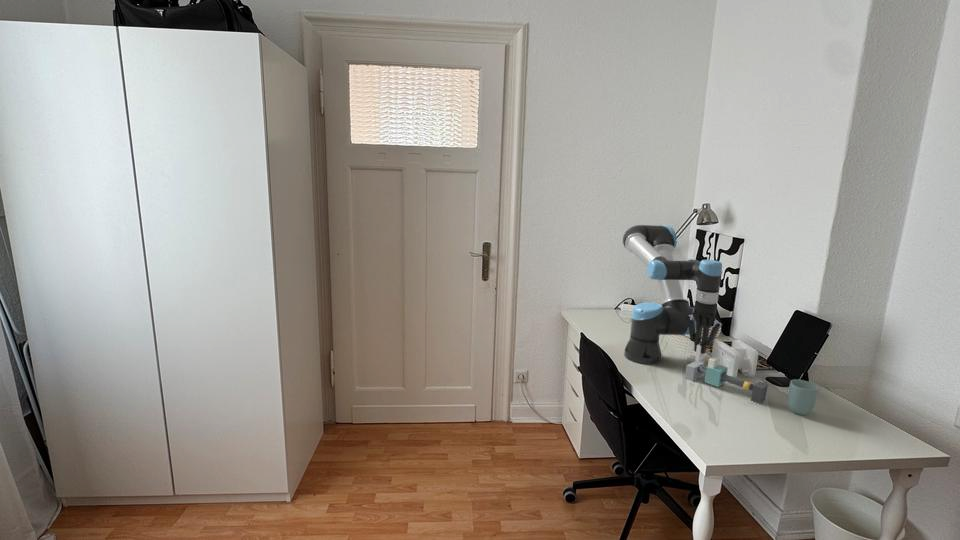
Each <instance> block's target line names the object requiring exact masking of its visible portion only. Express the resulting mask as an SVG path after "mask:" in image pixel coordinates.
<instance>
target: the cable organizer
mask: <svg viewBox="0 0 960 540" xmlns="http://www.w3.org/2000/svg"><path fill="white" fill-rule="evenodd" d="M714 356H715V357H718V358H720V359H719V365H721V366H724V367H727V368H728V369H727V375H728V376H731V377H734V378H737V377H738V371H740V372H741V374H743V375H745V376H746V375H747V376H746V377H748V376H749V377H754V376H756V371H757V367H758V366H757V365H758V361H759V352H758V350H757V349H755V348H753V347H752V346H750V345H749V344H746V343H745V342H743V341H741V340H739V339H733V340H732V342H731V346H730V345H728V344H727V343H725V342H723V341H722V340H719V339H718V340H714V341H713V343H712V350H711V356H710V358H712V357H714Z"/></svg>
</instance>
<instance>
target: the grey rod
mask: <svg viewBox="0 0 960 540" xmlns="http://www.w3.org/2000/svg"><path fill="white" fill-rule="evenodd" d="M706 369H707V367H705V366H704V367H702V366H699V367H698V370H697V371H698V372H700V373H703V374H704V375H706ZM721 380H723V381H726V382H727V383H729V384H731V385H735V386H737V387H739V388H740V387H741V388H743V389H744V390H747V391H751V392H752V389H753V385H754V384H755V383H751V382H749V381H746V380H742V379H741V378H740V379H739V378H737V377H735V378H734V377H731V376H728V375H725V374H722V375H721ZM726 382H725V383H726Z"/></svg>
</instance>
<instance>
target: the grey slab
mask: <svg viewBox="0 0 960 540" xmlns="http://www.w3.org/2000/svg"><path fill="white" fill-rule="evenodd" d="M699 366H702V367H705V362H704V361H700V362H698V361H693V362H691V363H688V364H686V370H685V376H684V379H686V380H689V381H691V382H694V381H695V380H697V379H699V378H701V377H702V376H703V373H700V372H698V371H697V370H698V367H699Z"/></svg>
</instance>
